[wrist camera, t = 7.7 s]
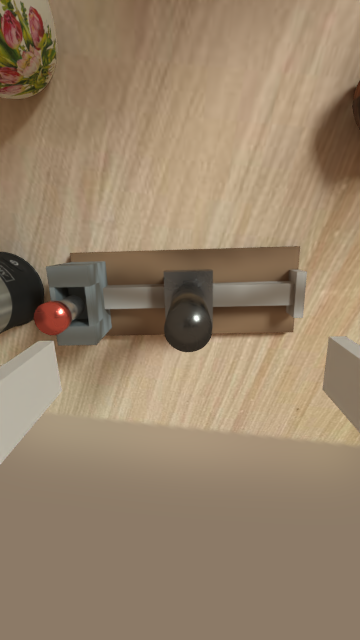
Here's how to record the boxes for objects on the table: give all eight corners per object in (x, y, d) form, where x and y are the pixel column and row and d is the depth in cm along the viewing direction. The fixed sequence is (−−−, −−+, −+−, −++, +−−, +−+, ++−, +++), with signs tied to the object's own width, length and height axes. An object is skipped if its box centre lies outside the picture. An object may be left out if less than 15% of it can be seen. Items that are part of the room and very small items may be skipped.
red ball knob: (58, 292, 28) (31, 303, 23) (86, 291, 28) (64, 302, 23) (62, 319, 29) (36, 335, 24) (89, 319, 29) (69, 334, 24)
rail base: (73, 253, 34) (44, 256, 27) (296, 246, 32) (324, 247, 26) (83, 333, 36) (59, 354, 29) (290, 329, 35) (314, 350, 28)
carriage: (166, 268, 32) (150, 287, 19) (210, 267, 32) (224, 286, 19) (168, 319, 34) (154, 369, 21) (210, 318, 34) (223, 368, 21)
